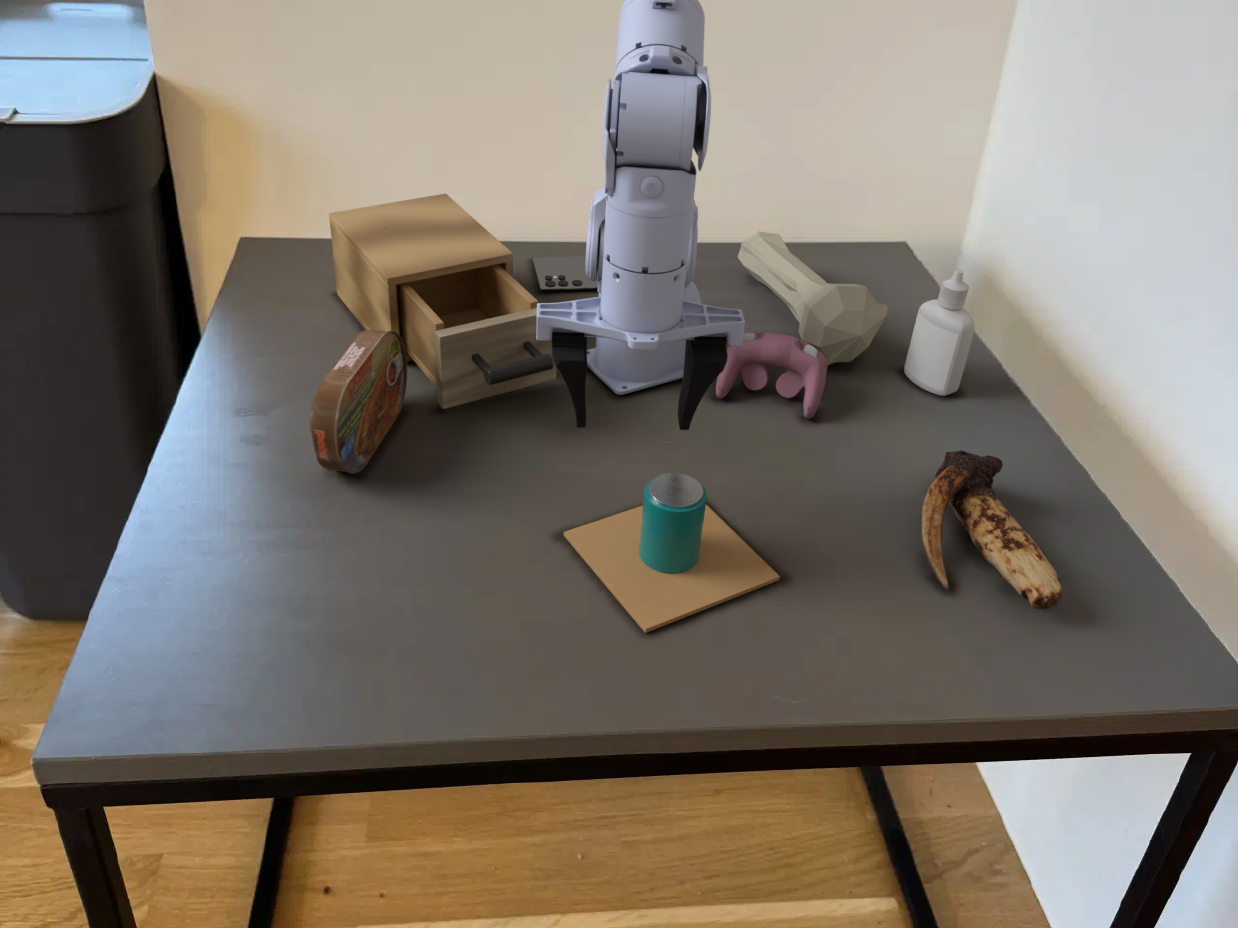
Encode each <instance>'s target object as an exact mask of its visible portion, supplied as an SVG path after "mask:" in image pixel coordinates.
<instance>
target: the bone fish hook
mask: <svg viewBox="0 0 1238 928" xmlns="http://www.w3.org/2000/svg"><path fill="white" fill-rule="evenodd" d="M1003 467H1004V464H1003V460H1001V459H1000V458H999V457H996V456H994V455H988V454H987V455H978V454H974V453H970V452H967V451H965V450H961V449H959V450H957V451H956V450H955V451H945V454H944V458H943V461H942V463H941V465H940V466H939V467H938V469H937V471H936V473H935V477H934V478H935V479H934V480H933V481H932V482H931V484H930V486H929V487H928V488H927V490H926V493H925V497H924V498H923V502H922V509H921V516H920V531H921V532H920V534H921V542H922V547H923V551H924V554H925V557H926V560H927V562H928V565H929V567H930V570H931V571H932V573H933V575H934V577H935V578H936V580H937V582H938V583H939V584H940V585H941V587H942V588H943V589H945V590H950V584H949V580H948V576H947V575H948V574H947V571H946V567H945V559H944V553H943V528H944V527H943V526H944V520H945V514H946V510H947V508H948V505H951V507H952V510H953V513H954V515H955V518H956V519H957V521H959V522H960V523H961V525H962V526H963V528H964V529H965V530H966V532H967V534H968V535H969V536H970V539H971V541H972V543H973V544H974V545H975V547H976V548H977V550H978V551H979V552H980V554H981V555H982V557H983V559H984V560H985V561H986V562H988V563H989V564H990V565H992V566H993V567H994V568H995V569H996V570H997V571H998V572H999V574H1000V575H1001V576H1002V578H1003V580H1005V581H1006V582H1007V583H1009V584H1010V586H1012V587H1013V589H1014V590H1015V591H1016V592H1017V593H1018V594H1019V595H1020V596H1021V598H1023V599H1024V600H1028V602H1029V605H1030V607H1031V608H1033V609H1035V610H1048V609H1051V608H1055V607H1056V606H1057V605H1058V604H1059V602H1060V600H1061V598H1062V595H1063V588H1062V584H1061V580H1060V578H1059V576H1058V573H1057V572H1056V569H1054V567H1053V565H1052V564H1051V562H1050V561H1049V560H1048V558H1047V557H1046V556H1045V555H1044V553H1043V552H1042V550H1041V548H1040V547H1039V545H1038V544H1037V543H1036V542H1035V541H1034V539H1033V538H1032V536H1031V535H1030V534H1029V533H1028V532H1026V530H1024V528H1023V527H1022V526H1021V525H1020V523H1018V521H1017V519H1015V517H1013V516H1012V514H1011V513H1010V511H1009V510H1008V509H1007V508H1006V507H1005V506H1004V504H1003V503H1002V502H1001V501H1000V500H999V498H998V497H997V495H996V492H995V490H994V489H993V484H994V478H995V476H997V474H998V473H1000V472H1001V471H1002V468H1003Z"/></svg>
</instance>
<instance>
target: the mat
mask: <svg viewBox="0 0 1238 928" xmlns="http://www.w3.org/2000/svg"><path fill="white" fill-rule="evenodd" d="M642 512H643V505H640V506H637V507H634V508H631V509H629V510H626V511H622V512H619V513H616V514H613V515H610V516H607V517H604V518H601V519H598V520H595V521H593V522H589V523H586V524H583V525H581V526H577V527H574V528H572V529H569V530H565V531H563V537H564V538H565V539H566V540H567V541H568V543H569V544H570V545H571V546H572V547H573V549H574V550H575V551H576V552H577V553H578V554H579V556H580V557H581V558H582V559H583V561H584V562H585V563H586V564H587V566H589V568H590V569H591V570H592V571H593V572H594V574H595V575H596V576H597V577H598V579H599V580H600V581H601V582H602V583H603V584H604V586H605V587H606V588H607V589H608V591H609V592H610V593H611V594H612V595H613V596H614V598H615V599H616V600H617V601H618V602H619V604H620V605H621V606H622V607H623V608H624V610H625V611H626V612H627V613H628V614H629V616H630V617H631V618H632V619H633V620H634V622H635V623H636V624H637V625H638V626H639V628H640V629H641V630H642V631H643V633H645V634H647V633H649V632H652V631H654V630H657V629H660V628H662V627H665V626H667V625H670V624H673V623H675V622H677V621H680V620H682V619H685V618H687V617H690V616H692V615H695V614H697V613H701V612H702V611H704V610H707V609H710V608H713V607H715V606H717V605H720V604H722V603H726V602H728V601H730V600H733V599H735V598H738V597H741V596H743V595H746V594H748V593H750V592H753V591H756V590H758V589H760V588H763V587H765V586H768V585H771V584H774V583H776V582H778V581H780V578H781V576H780V575H779V574H778V573H777V572H776V571H775V570H774V568H772V567H771V566H770V565H769V564H768V563H767V562H766V561H765V560H764V559H763V558H762V557H761V556H759V554H758V553H757V552H755V550H754V549H753V548H752V547H751V546H749V545H748V543H746V542H745V540H743V538H741V536H739V535H738V534H737V533H736V531H734V530H733V529H732V528H731V527H730V526H729V525H728V524H727V523H726V522H725V521H724V520H723V519H722V518H721V517H720V516H719V515H718V514H717V513H716V512H715V511H714V510H713V509H712V508H711V507H710V506H709V505H708V504H706V507H705V515H704V522H703V530H702V537H701V545H700V552H699V558H698V561H697V563H696V564H695V565H694V566H693V567H692V568H691V569H689V570H687V571H685V572H681V573H673V574H672V573H663V572H659V571H656V570H653V569H651V568H650V567H648V566H647V565H646V564H645V563H644V562H643V561H642V560H641V558H640V555H639V544H640V533H641V522H642Z"/></svg>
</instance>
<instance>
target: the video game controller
mask: <svg viewBox="0 0 1238 928" xmlns="http://www.w3.org/2000/svg"><path fill="white" fill-rule="evenodd" d="M726 350H727V354H728V357H727V363H726V366H725V368H724V370H723V371H722V372H721V373H720V374H719V375H718V376H717V378H716V383H715V396H716V398H718V399H721V400H722V399H723V398H725V397H726V396H727V395H728V394H729V392H730V391H731V389H732V387H733V386H734V383H735V382H736V380H737V377H738V374H740V375H741V376H742V379H743V383H744V385H745V387H746V388H747V389H749V390H751V391H759V390H762V389H764V388H765V387H766V386H767V385H768V383H769V372H768V370H767V368H766V365H774V366H778V367H781V368H784V369H787V371H785V372H784V373H782V374H780V376H778V379H777V380H776V383H775V389H776V392H777V394H779V396H781V397H783V398H785V399H792V398H794V397H796V396H797V395H799V393H800V392H801V391H802V390H803V389H804V395H803V417H804V418H805V419H807V420H810V419H811V418H813V417H814V416H815V414H816V412H817V410H818V408H819V405H820V403H821V400H822V396H823V393H824V389H825V386H826V385H825V384H826V380H827V379H826V378H827V371H828V366H829V365H828V364H827V360H826V358H825V356H824V355H823V354H822V353H821V352H820V351H819V350H817V349H815V348H814V347H813V346H811V345H810V344H808V343H806V342H804V341H802V340H801V338H798V337H795V336H792V335H789V334H786V333H780V332H773V331H756V332H755V331H749V332H744V334H743V341H742V346H729V345H727V347H726Z"/></svg>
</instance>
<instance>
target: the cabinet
mask: <svg viewBox="0 0 1238 928" xmlns="http://www.w3.org/2000/svg"><path fill="white" fill-rule="evenodd" d="M328 219H329V228H330V238H331V246H332V248H331V249H332V257H333V266H334V276H335V277H334V278H335V283H336V284H335V287H336V295H337V296H338V297H339V299H340V300H341V301H342V303H344V305H345V306H346V307H347V309H348V310H349V311H350V312H351V314H352V315H353V316H354V317H355V318H356V320H357V321H358V322H359V323H360V325H361V326H362V328H363V329H364V331H365V330H378V331H395V332H397V333H398V334H399V320H398V305H397V290H396V285H397V284H402V283H407V282H412V281H417V280H422V279H427V278H432V277H436V276H441V275H446V274H451V273H456V272H461V271H466V270H471V269H476V268H480V267H485V266H490V265H495V264H498V265H500V266H501V267H502V268H503V269H504V270H505V271H506V272H507V273H508V274H509V275H510V276H511V277H512V278H514V252H512V251H511V250H510V249H509V248H508V247H506V246H505V245H504V244H503V243H502V242H501V241H500V240H499V239H497V238H496V237H495V236H494V235H493V234H492V233H491V232H489V231H488V230H487V228H485V227H484V226H483V225H482V224H481V223H480V222H479V221H478V220H476V219H475V218H474V217H473V216H472V215H470V214H469V212H467V211H466V210H465V209H464V208H463V207H462V206H461V205H459V204H458V203H457V202H456V201H455V200H454V199H453V198H451V196H449V195H448V194H447V192H446V193H440V194H435V195H429V196H421V197H418V198H416V197H415V198H410V199H405V200H404V199H403V200H399V201H393V202H386V203H381V204H375V205H369V206H363V207H357V208H353V209H352V208H351V209H346V210H339V211H334V212H329V213H328ZM399 335H400V334H399ZM405 351H406V350H405ZM406 357H407V363H408V362H412V361H413V362H414V360H413V359H412V358H411V356H410V355H409V354H408V353H407V352H406Z"/></svg>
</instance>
